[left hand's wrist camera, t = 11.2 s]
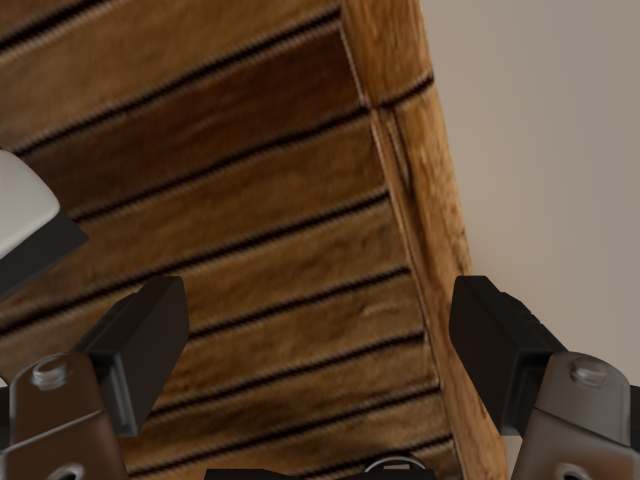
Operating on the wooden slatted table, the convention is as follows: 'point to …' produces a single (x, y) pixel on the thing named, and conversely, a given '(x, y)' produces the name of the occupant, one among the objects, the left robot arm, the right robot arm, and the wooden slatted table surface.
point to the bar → (39, 254)
